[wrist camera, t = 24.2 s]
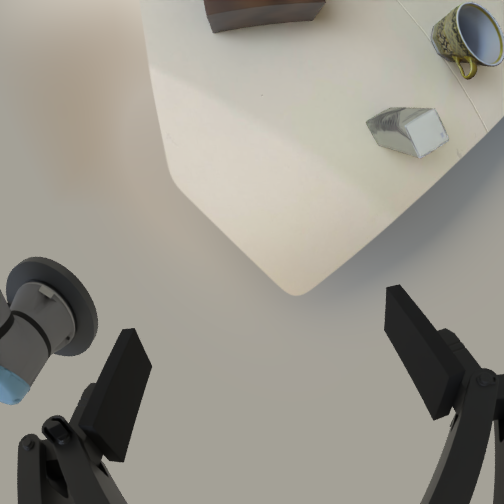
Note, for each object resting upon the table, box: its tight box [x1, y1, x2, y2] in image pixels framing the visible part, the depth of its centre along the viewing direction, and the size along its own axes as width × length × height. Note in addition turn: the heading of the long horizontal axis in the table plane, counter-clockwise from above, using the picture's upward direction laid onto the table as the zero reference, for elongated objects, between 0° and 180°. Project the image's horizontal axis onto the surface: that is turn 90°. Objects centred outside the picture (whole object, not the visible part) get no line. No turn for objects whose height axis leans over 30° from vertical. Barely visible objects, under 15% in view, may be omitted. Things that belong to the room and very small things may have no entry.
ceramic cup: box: [431, 2, 504, 80], centre depth 31 cm, size 13×10×10 cm
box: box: [366, 108, 449, 158], centre depth 35 cm, size 5×4×13 cm
